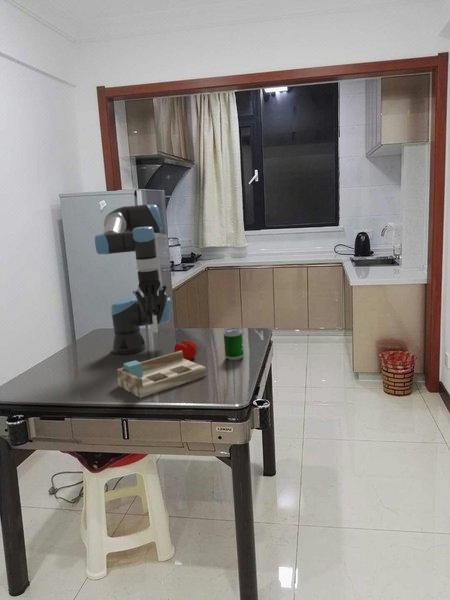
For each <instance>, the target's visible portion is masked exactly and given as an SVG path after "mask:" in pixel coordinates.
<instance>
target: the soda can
mask: <svg viewBox="0 0 450 600" xmlns="http://www.w3.org/2000/svg"><path fill="white" fill-rule="evenodd" d="M223 341H224V353H225V358H227V359H228V361H239V360H241V359H242V358H243V357H244V343H243V342H244V341H243V331H242V330H241V329H240V328H237V327H231V328H227V329H225V330H224V332H223Z"/></svg>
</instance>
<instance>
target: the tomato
mask: <svg viewBox="0 0 450 600" xmlns="http://www.w3.org/2000/svg"><path fill="white" fill-rule="evenodd" d="M173 350H174V352H177V351H183V358H184V359H186V360H189V361H192V360H193V359H194V357H195V356H196V354H197V346H196V344H195V343H194V342H193V340H192V341H191V340H187V339H186V340H185V339H184V340H181V341H180V342H177V343H176V344H175V345H174V349H173ZM174 352H173V353H174Z"/></svg>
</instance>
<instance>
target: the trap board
mask: <svg viewBox="0 0 450 600" xmlns="http://www.w3.org/2000/svg"><path fill="white" fill-rule="evenodd" d="M139 362H140V363H142V371H143V376H142V377H137V376H135V375H133V374H131V373H129V372H127V371H125V370H124V366H122V367H119V368H117V369H116V374H117V375H116V376H117V383H118V386H119V387H120V388H122V389H124V390H125V391H128V392H129V393H130V392H131V393H130V394H132V395H134V396H136V397H138V398H139V399H142V398H144V397H148V396H151V395H154V394H157V393H160V392H163V391H166V390H169V389H172V388H174V387H175V388H176V387H178V386H180V385H183V384H186V382H187V383H190V382H192V381H196V380H198V379H202V378H204V377H206V376H207V370H206V368H207V367H206V366H204V365H202V364H199V363H196V362H194V361H192V360H186V359H184V358H183V351H177V352H171V353H168V354H164V355H161V356H158V357H153V358H150V359H147V360H144V361H139Z"/></svg>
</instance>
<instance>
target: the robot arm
mask: <svg viewBox="0 0 450 600" xmlns="http://www.w3.org/2000/svg"><path fill="white" fill-rule="evenodd" d="M103 228H104V229H103V233H101V234H96V235H95V237H94V246H95V250H96V254H98V255H112V254H122V253H133V252H134V253H135V263H136V269H137V270H138V271H137V279H138V280H137V281H138V286H137V288H136V290H133V291H132V293H133V295H134V296H135V297H133V296H132V297H127V298H122V299H119V300H117V301H114V302H113V303H112V304H111V319H112V326H113V332H114V336H113V340H112V345H111V347H112V348H111V349H112V353H113V354H116V355H132V354H136V353H139V352H143V351H144V350H145V349H146V348H147V345H146V344H147V343H146V341H145V337H144V336H143V334H142V332H141V328H140V327H145V326H146V327H147V326H150V331H151V332H152V333H154V334H156V333H158V332H159V327H158V326H159V325H162V324H167V323H169V322H170V320H171V319H170V318H171V297H169V296H168V294H167V293H166V290H167V286H166V285H163V279H162V271H161V270H162V269H161V261H160V253H159V242H158V238H159V236H160V235H161V231H162V230H163V223H162V219H161V215H160V211H159V208H158V206H157V205H156V204H140V205H130V206H129V205H128V206H127V205H126V206H121V207H118V208H115V209H113V210H112V211H110V212H109V213H108V214H107V215H106V216H105V218H104V220H103Z"/></svg>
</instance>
